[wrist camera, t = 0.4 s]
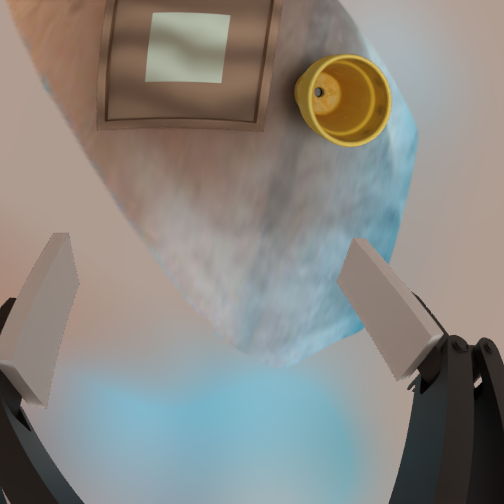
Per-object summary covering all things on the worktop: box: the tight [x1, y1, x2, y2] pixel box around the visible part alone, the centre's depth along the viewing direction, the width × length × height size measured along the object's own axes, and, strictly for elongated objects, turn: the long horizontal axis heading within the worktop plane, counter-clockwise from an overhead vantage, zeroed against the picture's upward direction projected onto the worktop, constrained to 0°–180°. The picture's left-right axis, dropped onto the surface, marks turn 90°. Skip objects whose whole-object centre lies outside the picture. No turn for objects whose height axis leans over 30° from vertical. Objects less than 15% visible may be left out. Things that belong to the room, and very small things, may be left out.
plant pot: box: [294, 54, 391, 147], centre depth 30 cm, size 10×10×10 cm
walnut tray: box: [97, 0, 283, 132], centre depth 26 cm, size 20×20×2 cm
